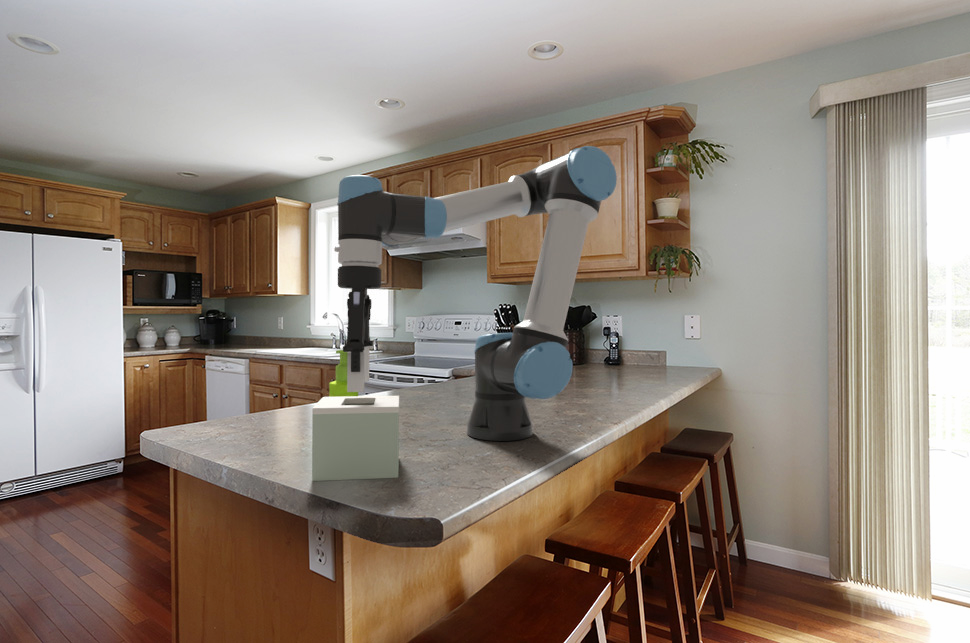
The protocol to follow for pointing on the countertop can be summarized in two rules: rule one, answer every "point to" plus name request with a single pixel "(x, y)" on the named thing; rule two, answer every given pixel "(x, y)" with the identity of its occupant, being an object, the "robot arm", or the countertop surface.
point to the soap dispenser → (340, 379)
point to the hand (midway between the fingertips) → (359, 386)
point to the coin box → (355, 438)
